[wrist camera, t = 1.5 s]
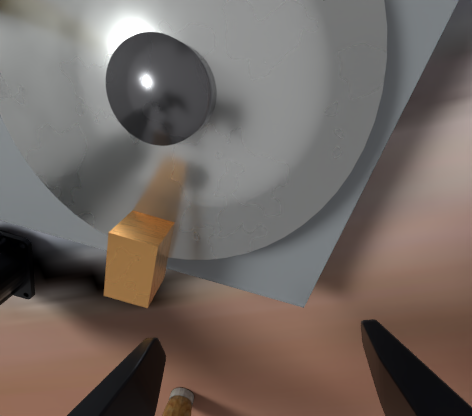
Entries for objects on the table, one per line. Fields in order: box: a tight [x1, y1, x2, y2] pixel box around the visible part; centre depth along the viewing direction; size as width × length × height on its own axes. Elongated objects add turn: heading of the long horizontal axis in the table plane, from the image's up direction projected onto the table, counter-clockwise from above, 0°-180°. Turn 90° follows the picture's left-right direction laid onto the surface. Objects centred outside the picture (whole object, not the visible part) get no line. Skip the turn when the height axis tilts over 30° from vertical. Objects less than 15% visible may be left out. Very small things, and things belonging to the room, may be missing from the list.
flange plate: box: [0, 0, 387, 308], centre depth 12 cm, size 20×18×4 cm
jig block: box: [0, 0, 459, 308], centre depth 15 cm, size 23×23×4 cm
